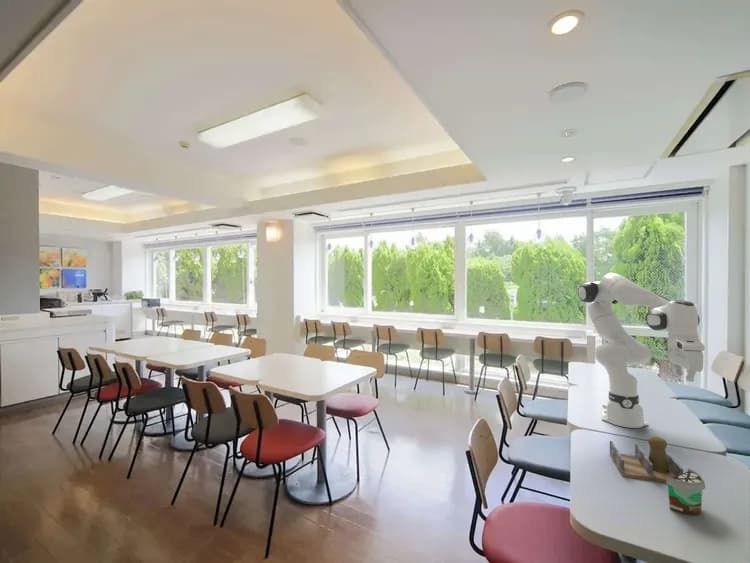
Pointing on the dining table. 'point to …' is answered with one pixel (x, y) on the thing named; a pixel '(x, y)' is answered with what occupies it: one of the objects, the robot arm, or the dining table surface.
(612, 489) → the dining table surface
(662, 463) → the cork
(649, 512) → the dining table surface
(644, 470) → the slot rack
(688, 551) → the dining table surface
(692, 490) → the food container
